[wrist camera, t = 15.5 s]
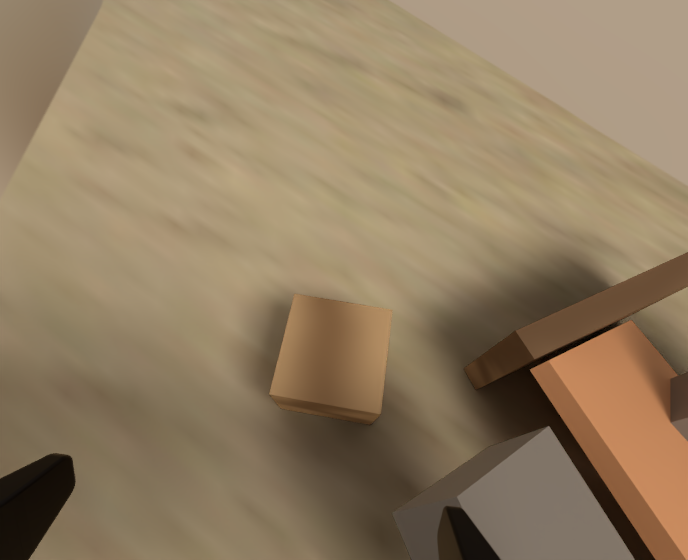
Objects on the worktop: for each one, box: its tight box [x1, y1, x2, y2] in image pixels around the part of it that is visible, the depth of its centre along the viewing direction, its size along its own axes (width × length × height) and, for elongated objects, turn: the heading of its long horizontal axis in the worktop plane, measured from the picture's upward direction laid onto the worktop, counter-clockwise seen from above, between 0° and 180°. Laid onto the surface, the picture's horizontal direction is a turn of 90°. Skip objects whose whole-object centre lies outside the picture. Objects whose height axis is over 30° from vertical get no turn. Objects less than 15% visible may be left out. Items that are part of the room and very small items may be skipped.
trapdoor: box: [392, 320, 688, 560], centre depth 16 cm, size 14×23×3 cm
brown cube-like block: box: [269, 294, 392, 425], centre depth 21 cm, size 6×6×5 cm
